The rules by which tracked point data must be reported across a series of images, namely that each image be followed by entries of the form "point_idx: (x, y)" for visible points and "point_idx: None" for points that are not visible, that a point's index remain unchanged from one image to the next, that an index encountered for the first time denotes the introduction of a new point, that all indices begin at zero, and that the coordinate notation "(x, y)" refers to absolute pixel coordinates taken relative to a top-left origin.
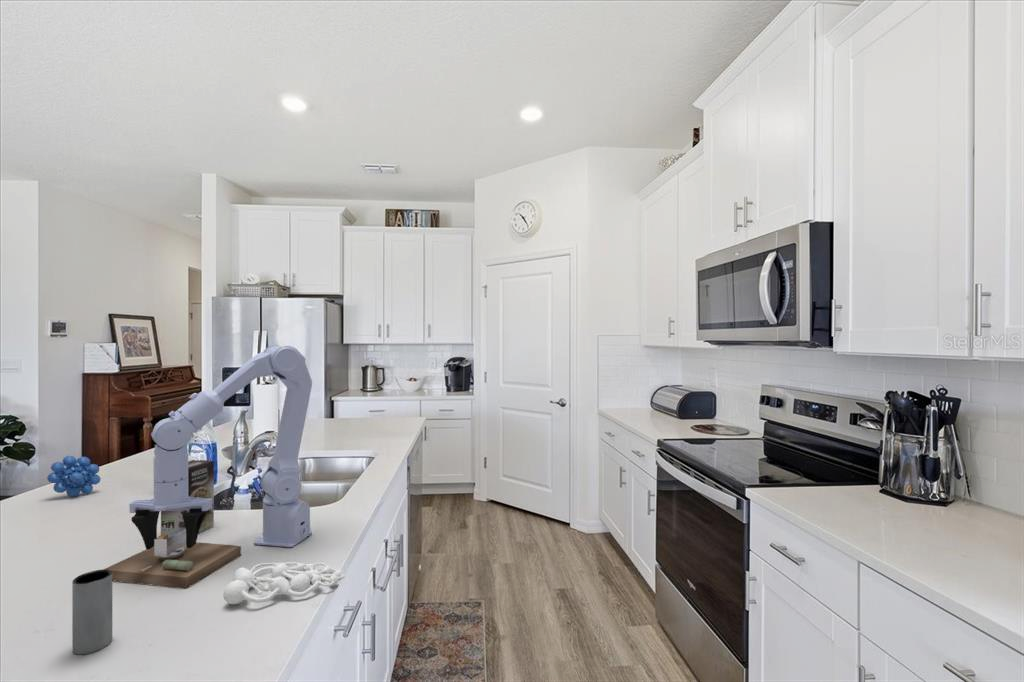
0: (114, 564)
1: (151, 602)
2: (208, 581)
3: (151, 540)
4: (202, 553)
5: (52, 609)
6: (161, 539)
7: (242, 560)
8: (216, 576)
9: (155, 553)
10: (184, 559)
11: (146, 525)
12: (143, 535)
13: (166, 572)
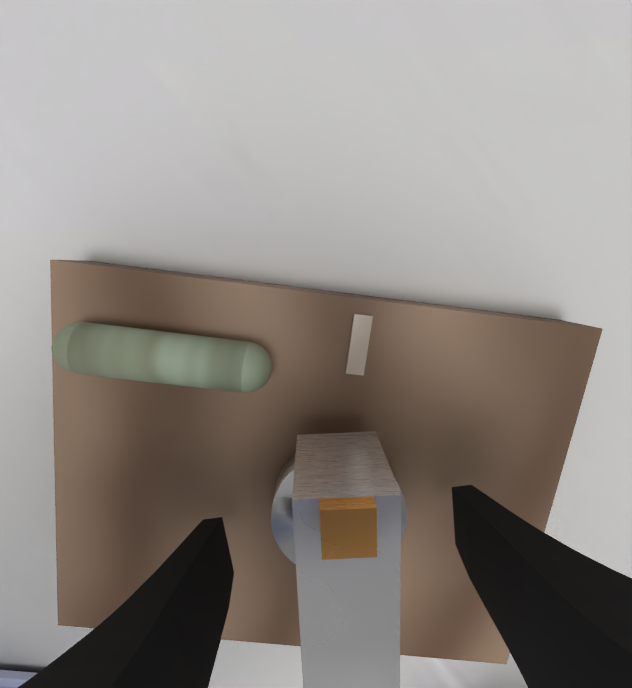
0: (581, 389)
1: (150, 114)
2: (38, 335)
3: (475, 542)
4: None
5: (595, 20)
6: (336, 495)
7: (42, 537)
8: (39, 384)
9: (372, 439)
10: (237, 464)
11: (574, 629)
12: (537, 540)
13: (215, 313)
